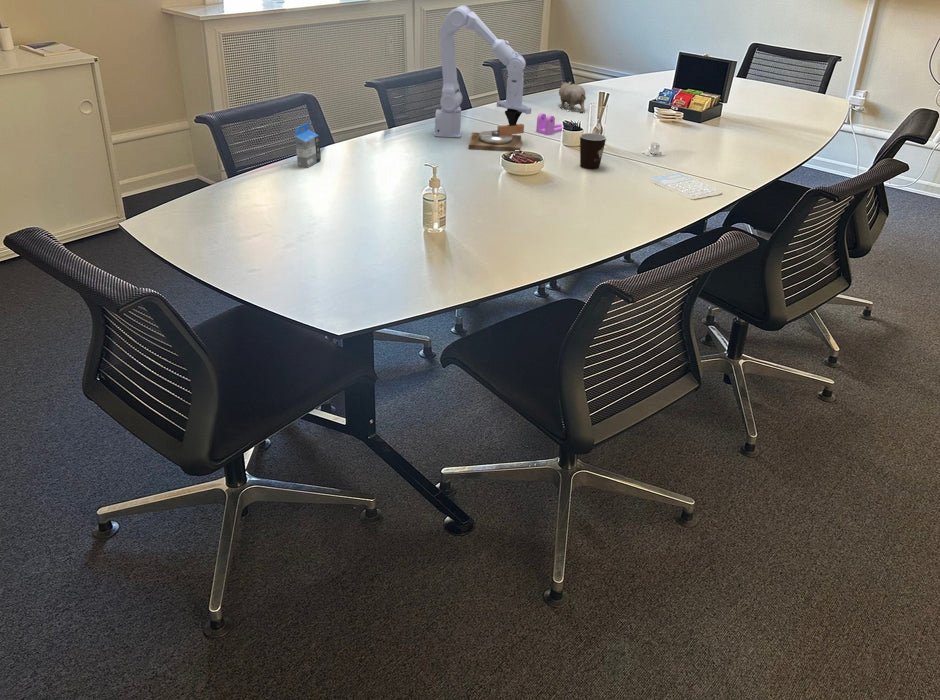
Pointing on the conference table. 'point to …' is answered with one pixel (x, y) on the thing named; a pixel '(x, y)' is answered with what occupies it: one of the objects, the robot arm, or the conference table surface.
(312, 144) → the label tape box
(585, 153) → the coffee mug
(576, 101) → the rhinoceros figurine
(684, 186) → the calculator
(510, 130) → the dial
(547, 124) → the bracket
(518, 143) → the stand
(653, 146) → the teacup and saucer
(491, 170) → the conference table surface
